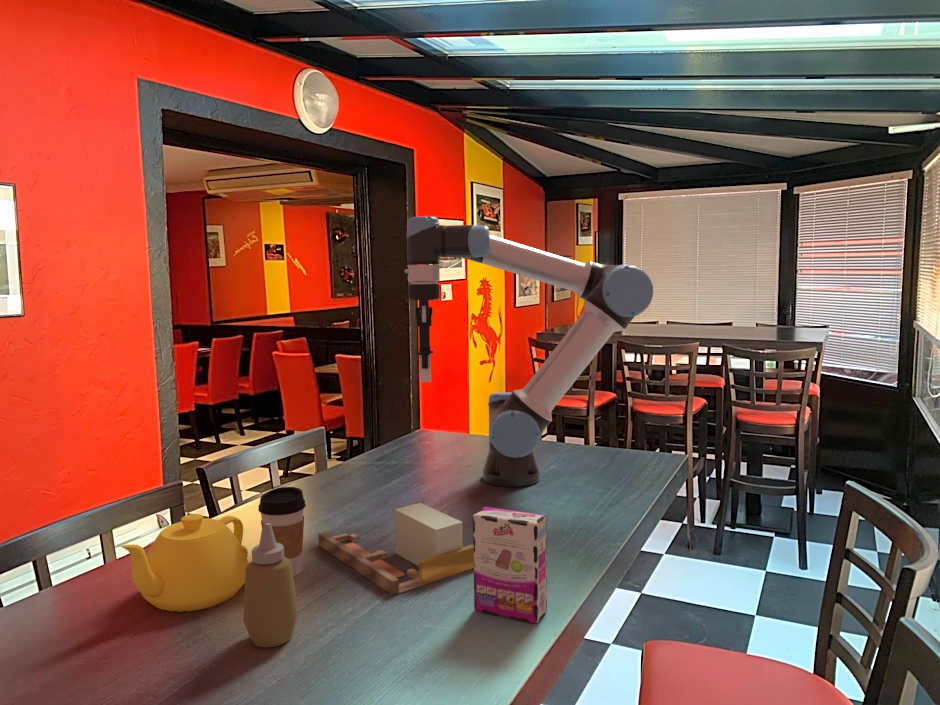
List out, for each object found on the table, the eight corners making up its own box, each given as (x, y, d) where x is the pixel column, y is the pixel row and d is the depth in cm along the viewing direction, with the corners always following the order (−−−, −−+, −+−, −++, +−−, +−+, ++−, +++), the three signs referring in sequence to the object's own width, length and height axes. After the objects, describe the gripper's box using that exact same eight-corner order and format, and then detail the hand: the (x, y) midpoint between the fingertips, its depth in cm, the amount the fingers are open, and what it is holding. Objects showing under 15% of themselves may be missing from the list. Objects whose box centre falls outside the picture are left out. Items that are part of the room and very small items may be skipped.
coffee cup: (316, 565, 134) (313, 488, 132) (291, 584, 126) (288, 503, 124) (278, 559, 137) (275, 484, 135) (251, 578, 129) (247, 498, 127)
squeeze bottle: (310, 631, 110) (305, 519, 107) (275, 657, 102) (269, 538, 100) (269, 621, 113) (264, 512, 111) (232, 645, 106) (226, 529, 104)
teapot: (163, 640, 108) (157, 554, 106) (91, 613, 116) (84, 533, 114) (281, 577, 129) (277, 504, 128) (213, 558, 138) (209, 490, 136)
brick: (395, 553, 140) (394, 509, 138) (421, 545, 143) (420, 502, 142) (436, 577, 129) (435, 529, 127) (463, 568, 132) (462, 522, 131)
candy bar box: (548, 611, 115) (548, 514, 113) (537, 625, 111) (537, 524, 109) (485, 598, 120) (484, 504, 118) (472, 611, 116) (471, 514, 114)
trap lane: (318, 545, 144) (318, 526, 143) (400, 523, 156) (400, 505, 155) (393, 595, 121) (392, 573, 121) (482, 565, 133) (481, 544, 133)
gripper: (408, 282, 174) (410, 377, 177) (406, 283, 161) (408, 386, 164) (439, 282, 175) (440, 376, 177) (439, 283, 162) (441, 385, 165)
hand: (425, 381), depth 171 cm, fingers closed
